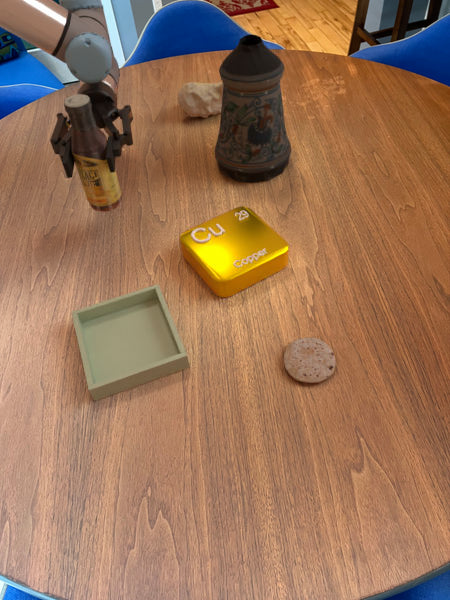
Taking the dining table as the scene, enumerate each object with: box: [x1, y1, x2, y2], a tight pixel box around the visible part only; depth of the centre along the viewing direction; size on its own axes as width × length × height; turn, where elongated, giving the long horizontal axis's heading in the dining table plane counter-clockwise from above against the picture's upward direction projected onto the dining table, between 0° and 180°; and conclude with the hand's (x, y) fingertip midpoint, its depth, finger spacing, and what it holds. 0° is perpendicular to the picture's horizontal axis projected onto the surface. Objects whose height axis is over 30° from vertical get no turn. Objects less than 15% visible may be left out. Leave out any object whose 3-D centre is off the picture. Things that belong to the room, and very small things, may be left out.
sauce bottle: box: [63, 93, 123, 213], centre depth 81 cm, size 7×6×20 cm
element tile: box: [179, 205, 290, 298], centre depth 85 cm, size 15×15×5 cm
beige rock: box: [177, 79, 223, 119], centre depth 119 cm, size 15×7×15 cm
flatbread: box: [283, 336, 336, 384], centre depth 71 cm, size 8×8×1 cm
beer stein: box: [214, 33, 292, 184], centre depth 97 cm, size 16×19×25 cm
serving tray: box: [70, 283, 191, 402], centre depth 74 cm, size 16×15×3 cm
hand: (88, 167), depth 77 cm, fingers closed on sauce bottle, 6 cm apart
